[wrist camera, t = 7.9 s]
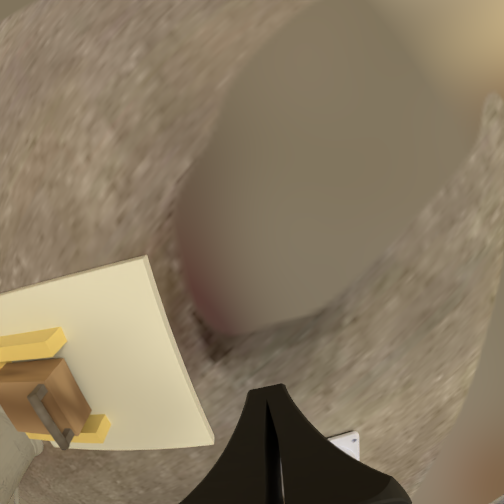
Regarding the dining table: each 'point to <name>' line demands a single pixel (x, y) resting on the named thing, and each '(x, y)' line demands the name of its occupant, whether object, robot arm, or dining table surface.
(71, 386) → the wooden block with handle
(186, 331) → the dining table surface
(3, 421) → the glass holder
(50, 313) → the dock
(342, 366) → the dining table surface
